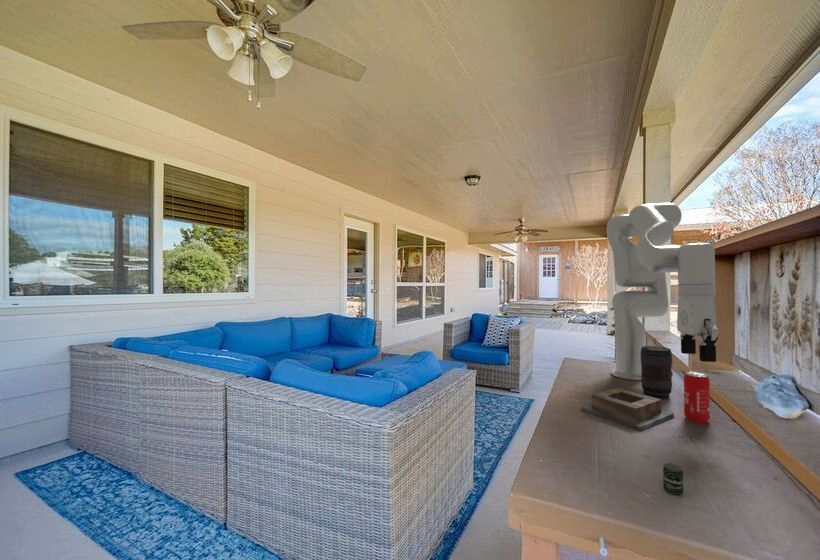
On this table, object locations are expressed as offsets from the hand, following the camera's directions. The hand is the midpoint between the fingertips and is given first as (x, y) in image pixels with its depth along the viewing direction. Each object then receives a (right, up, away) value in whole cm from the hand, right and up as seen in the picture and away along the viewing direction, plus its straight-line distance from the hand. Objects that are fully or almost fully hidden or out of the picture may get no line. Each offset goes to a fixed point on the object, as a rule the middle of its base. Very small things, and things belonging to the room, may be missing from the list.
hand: (697, 357), depth 92 cm
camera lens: (+3, -16, +19) cm, 25 cm away
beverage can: (0, -17, +1) cm, 17 cm away
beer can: (-28, -18, -29) cm, 44 cm away
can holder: (-15, -17, +6) cm, 23 cm away
